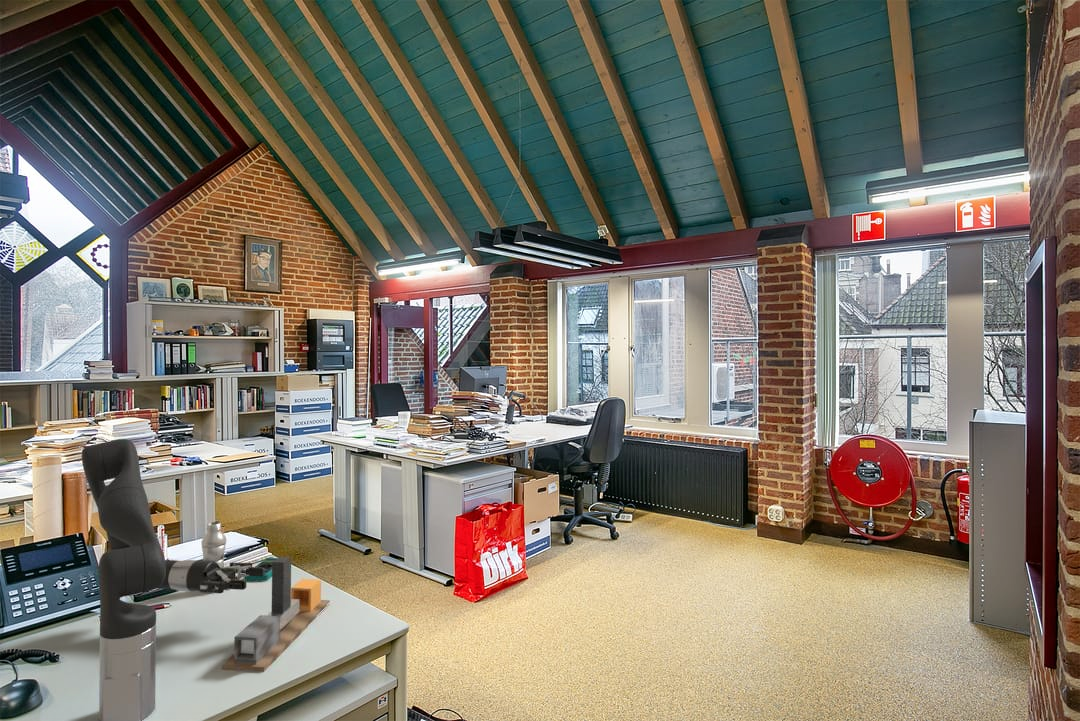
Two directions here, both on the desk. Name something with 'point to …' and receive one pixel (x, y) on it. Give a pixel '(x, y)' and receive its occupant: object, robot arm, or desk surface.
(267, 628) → the bolt guide base
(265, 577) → the digital multimeter
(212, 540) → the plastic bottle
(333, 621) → the desk surface
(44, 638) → the desk surface
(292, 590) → the far socket
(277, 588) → the slide bolt
